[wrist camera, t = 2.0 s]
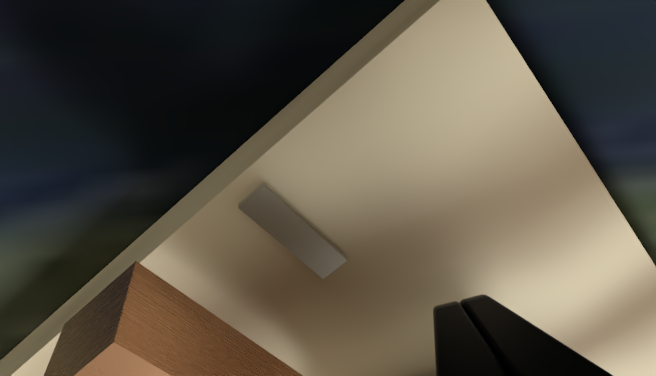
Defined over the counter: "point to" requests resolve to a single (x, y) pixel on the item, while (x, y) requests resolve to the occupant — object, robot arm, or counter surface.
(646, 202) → the counter surface
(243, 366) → the handle
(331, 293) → the coupling base
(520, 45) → the counter surface
